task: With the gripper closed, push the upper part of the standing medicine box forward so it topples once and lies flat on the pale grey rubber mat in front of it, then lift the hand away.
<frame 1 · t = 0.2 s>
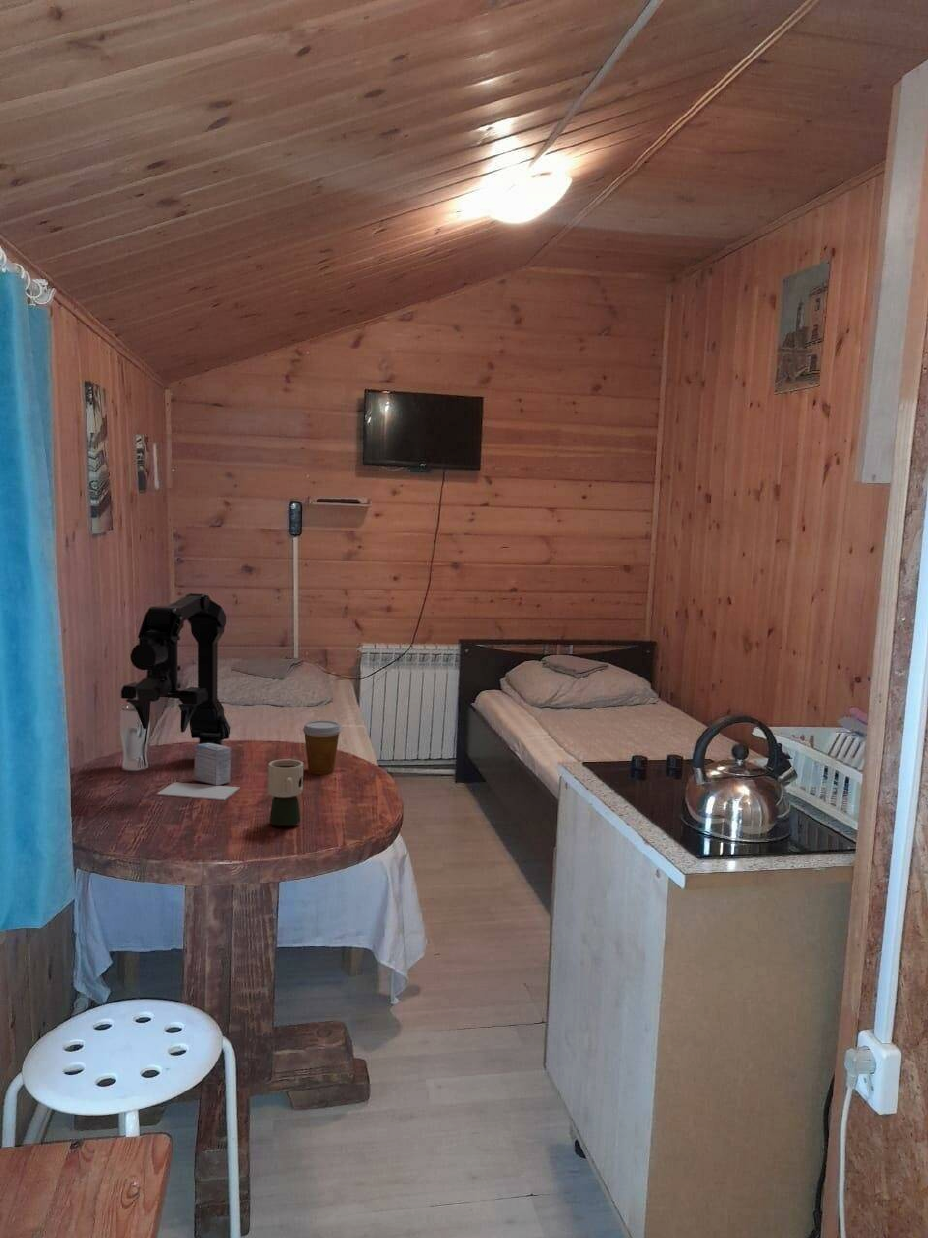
hand: (164, 730, 207), 14 cm above the table, tool pointing down, fingers open, 9 cm apart
disposable coffee cup: (321, 771, 230), on the table
medicine box: (212, 782, 217), on the table, touching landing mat
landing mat: (198, 791, 209), on the table
character mug: (284, 825, 190), on the table
beer glass: (135, 768, 227), on the table
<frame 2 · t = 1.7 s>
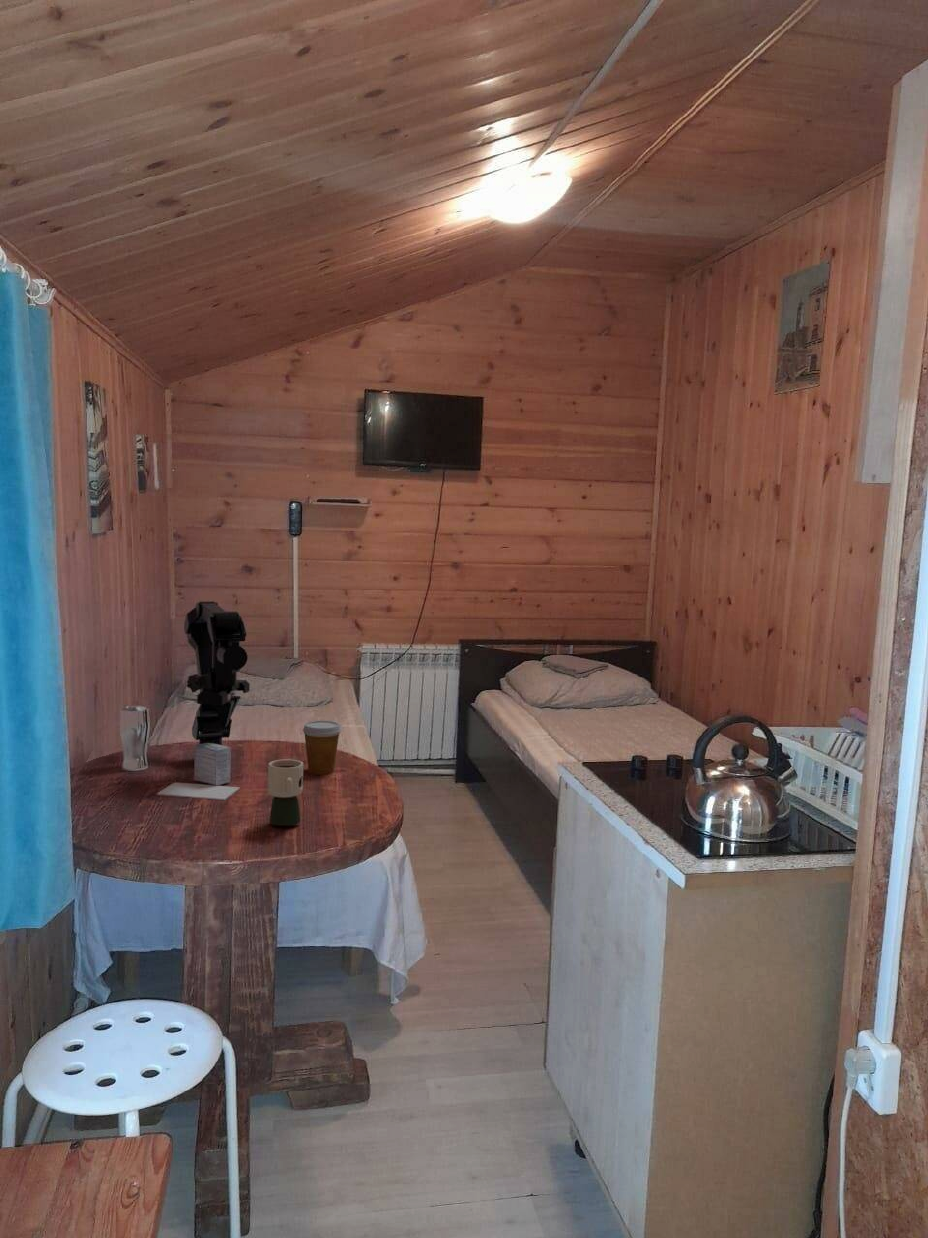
hand: (223, 726, 222), 12 cm above the table, tool pointing down, fingers closed
nothing on the table moved.
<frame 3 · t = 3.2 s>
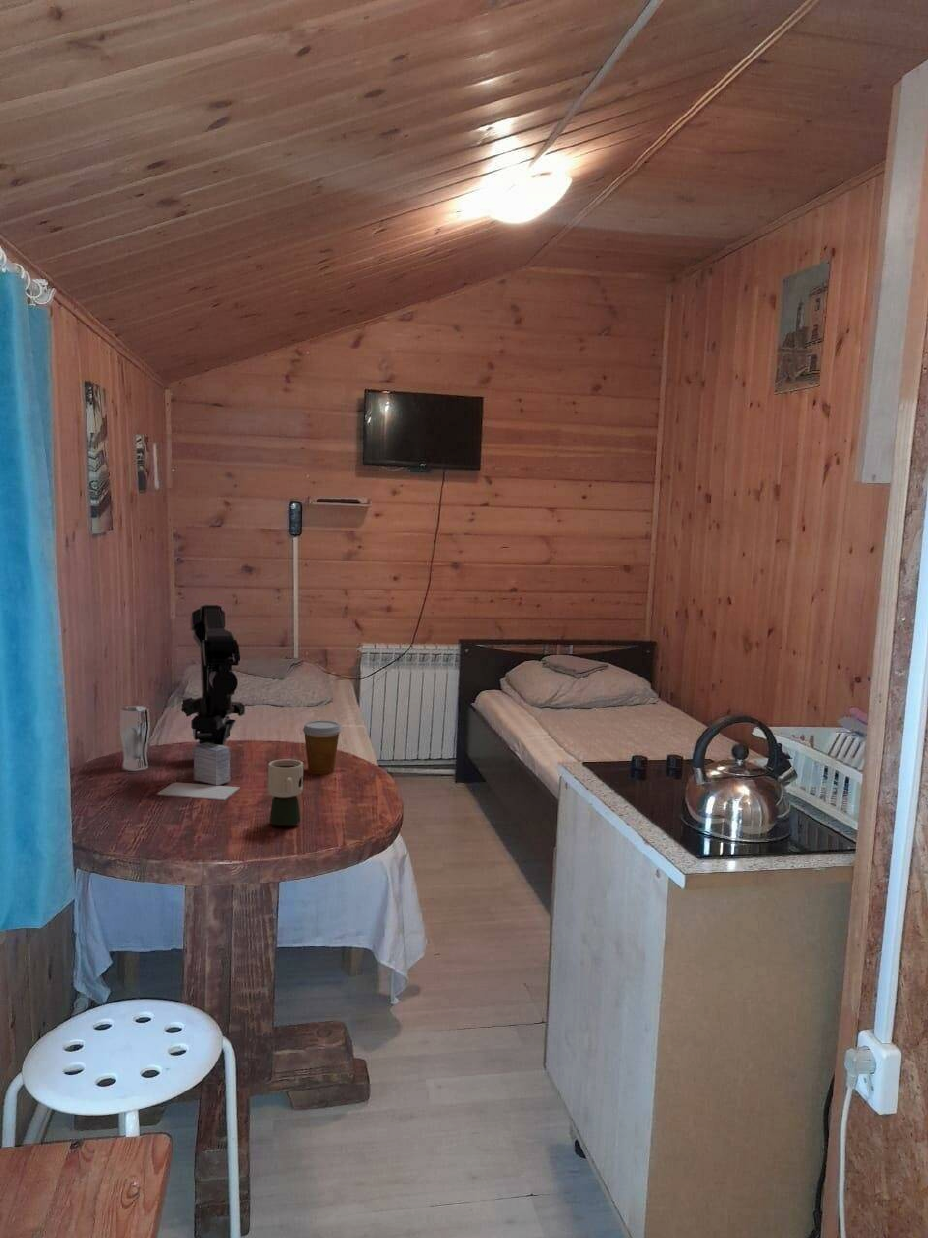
hand: (218, 750, 220), 7 cm above the table, tool pointing down, fingers closed
medicine box: (212, 782, 217), on the table, touching gripper, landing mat
everything else where it was.
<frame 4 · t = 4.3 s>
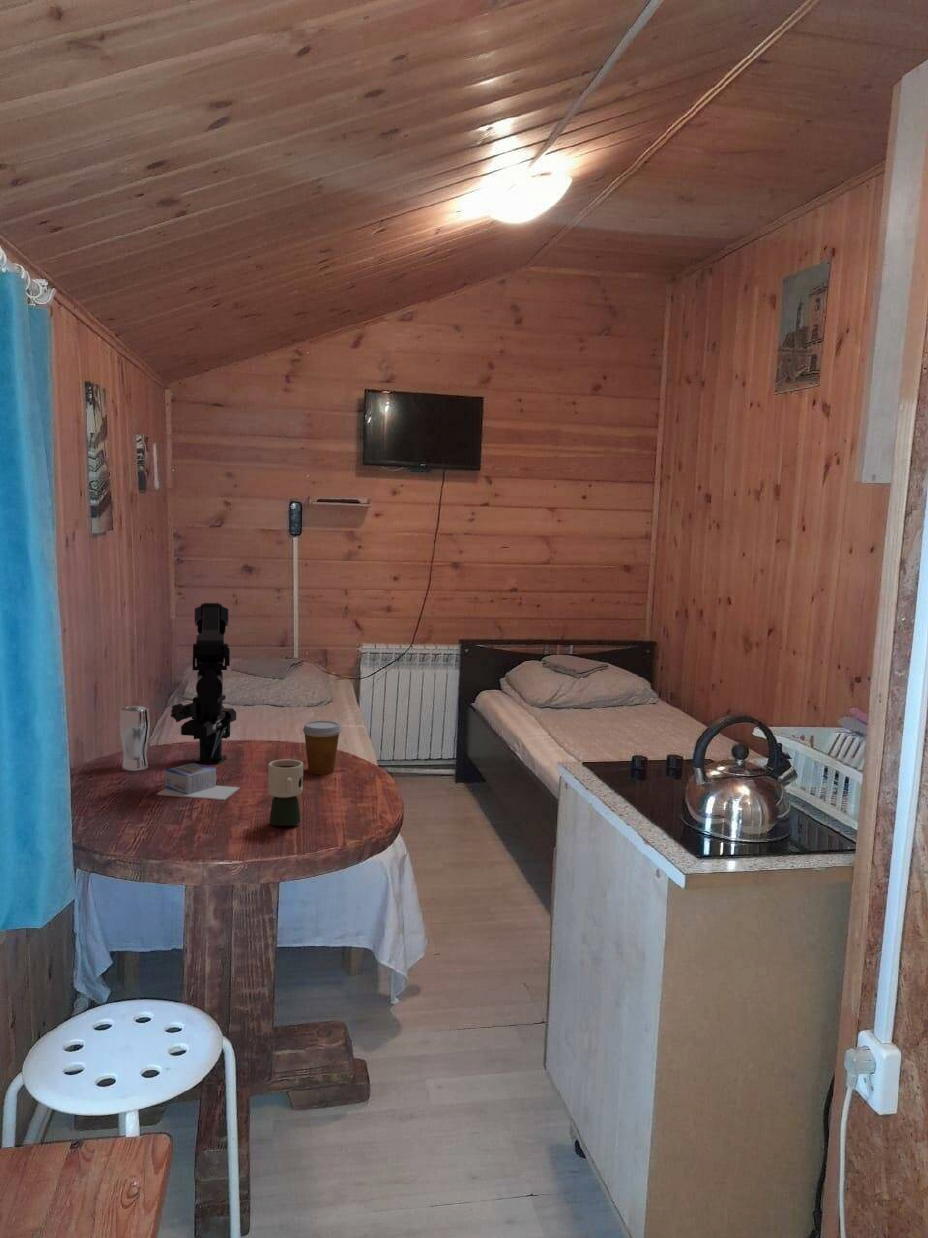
hand: (209, 757, 214), 7 cm above the table, tool pointing down, fingers closed
medicine box: (205, 774, 215), point 2 cm above the table, touching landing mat
everything else where it was.
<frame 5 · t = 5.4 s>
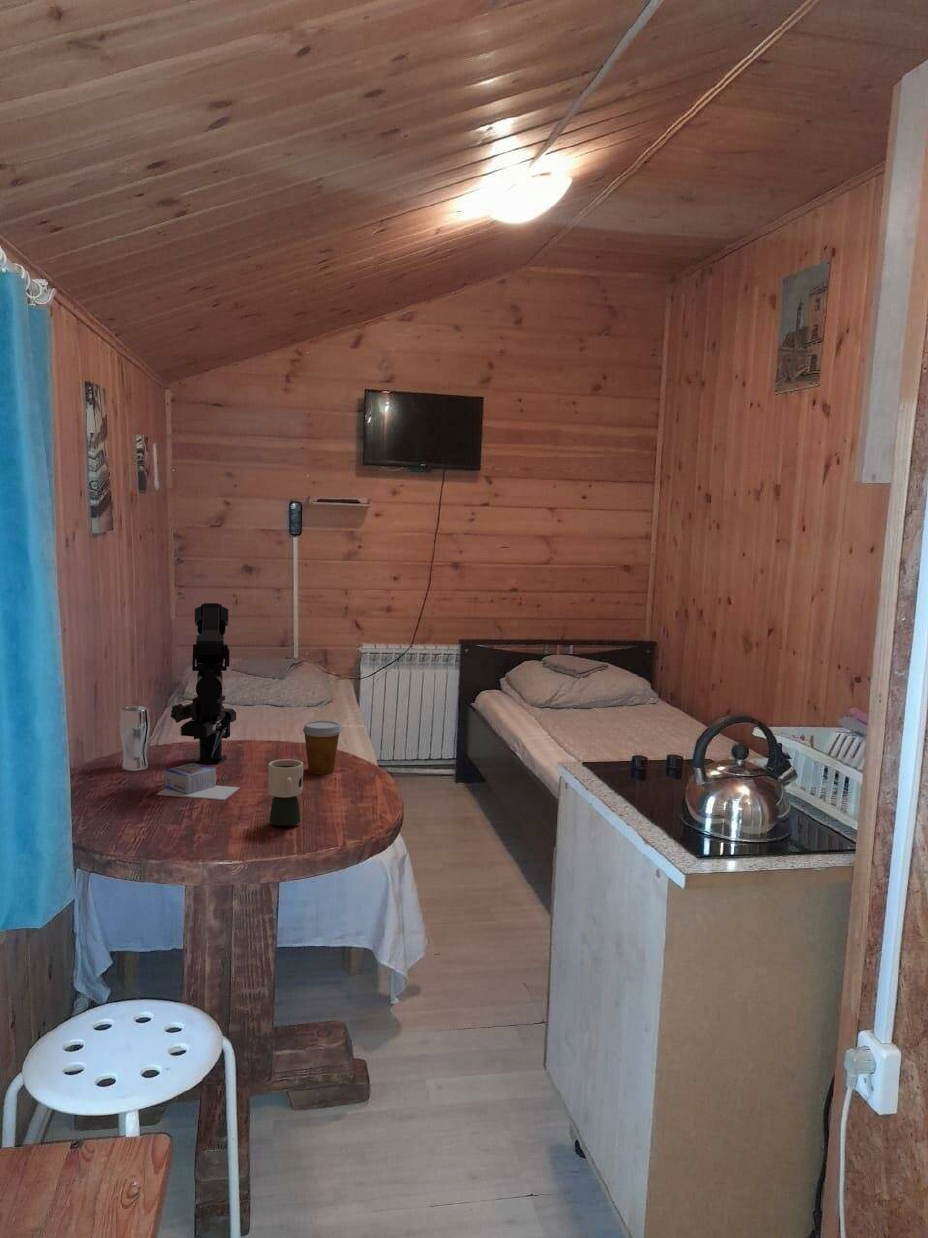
hand: (209, 757, 214), 6 cm above the table, tool pointing down, fingers closed
nothing on the table moved.
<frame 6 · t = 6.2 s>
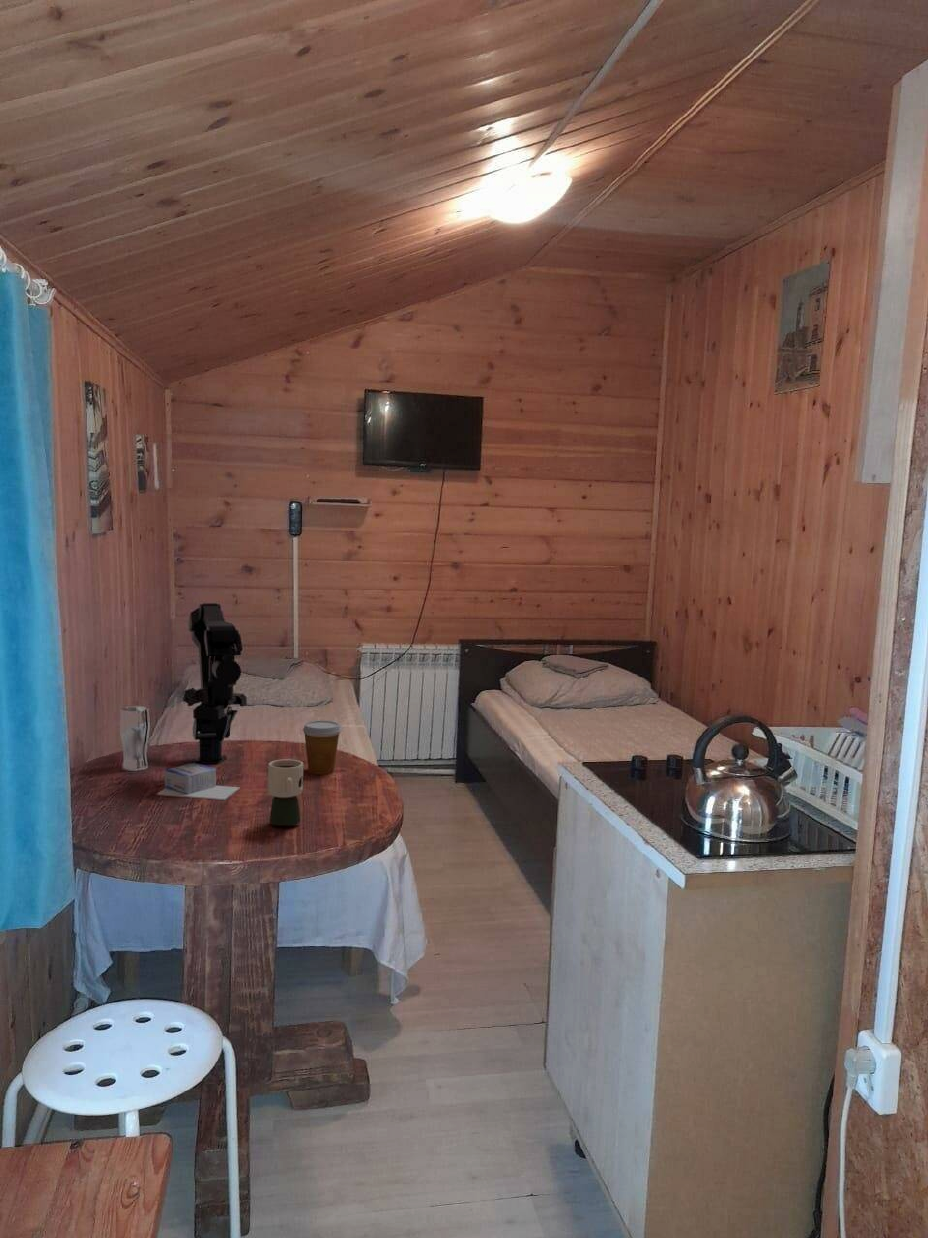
hand: (220, 740, 220), 9 cm above the table, tool pointing down, fingers closed
nothing on the table moved.
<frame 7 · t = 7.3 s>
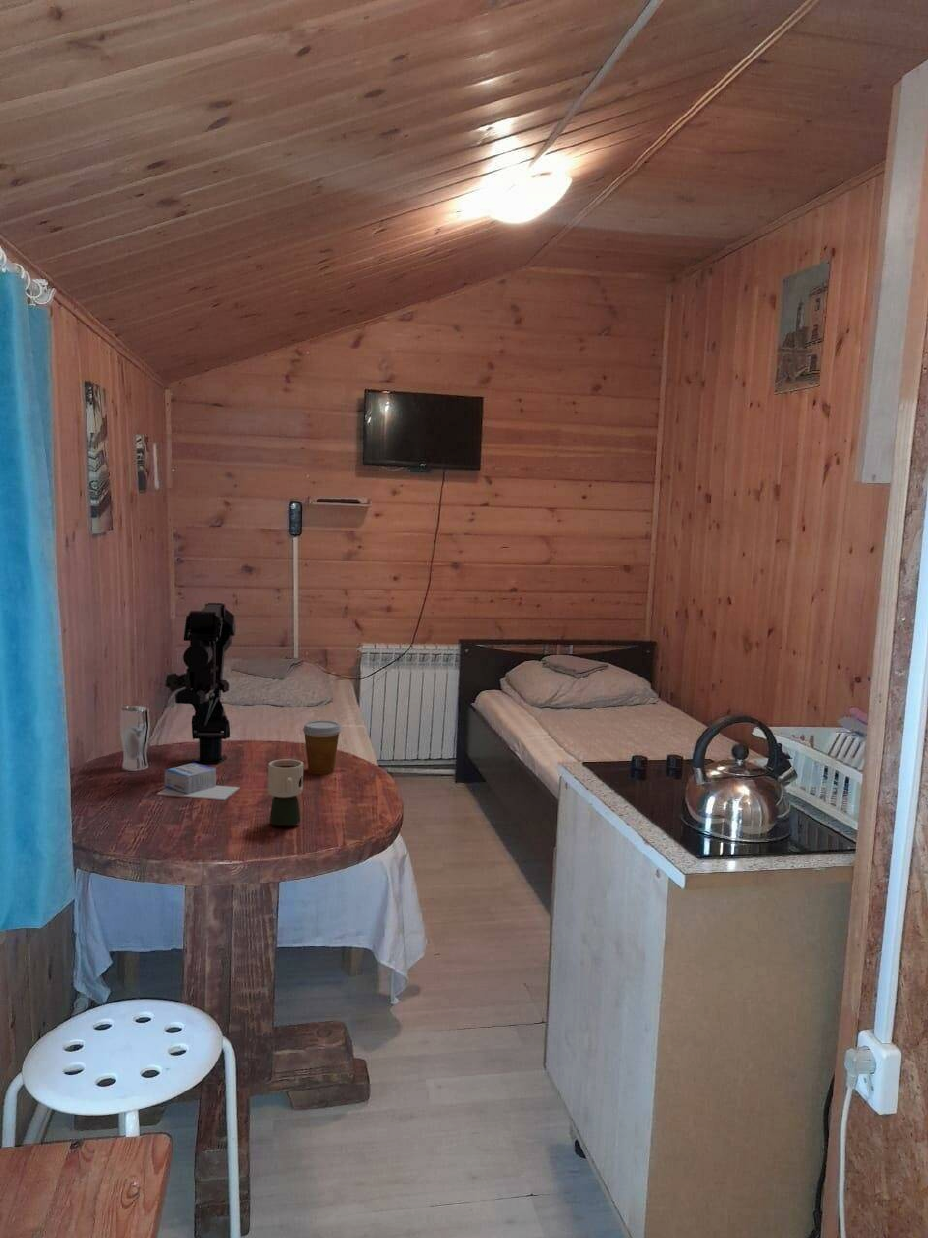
hand: (202, 726, 222), 12 cm above the table, tool pointing down, fingers closed
nothing on the table moved.
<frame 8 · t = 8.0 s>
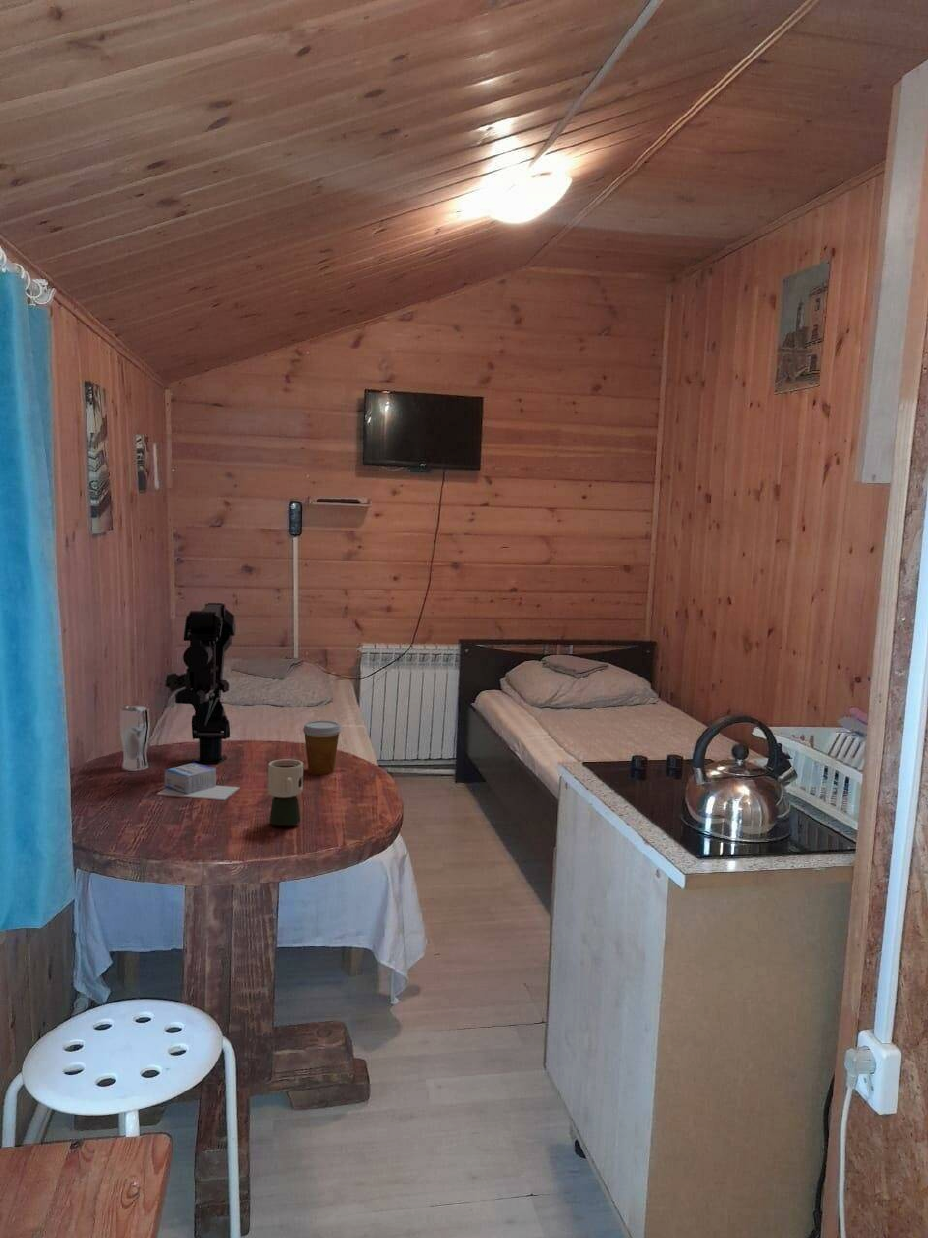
hand: (202, 726, 222), 12 cm above the table, tool pointing down, fingers closed
nothing on the table moved.
at the end: medicine box tilted 89°; medicine box inside the target area (4.9 cm from its centre), point 2.4 cm above the table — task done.
